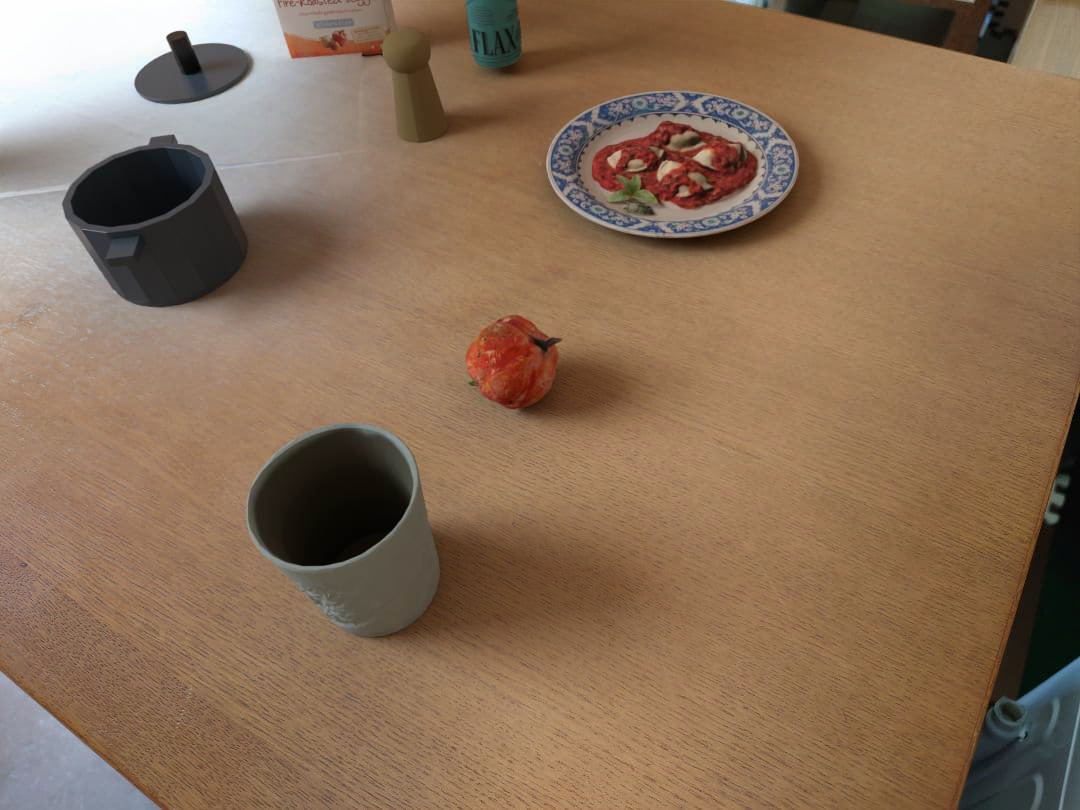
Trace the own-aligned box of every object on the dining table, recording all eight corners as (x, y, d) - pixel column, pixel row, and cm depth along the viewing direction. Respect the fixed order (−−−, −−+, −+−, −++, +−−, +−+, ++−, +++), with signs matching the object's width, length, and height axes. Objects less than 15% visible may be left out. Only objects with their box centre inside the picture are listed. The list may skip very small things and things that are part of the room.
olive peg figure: (411, 110, 94) (391, 18, 85) (456, 117, 92) (441, 24, 83) (387, 137, 90) (364, 44, 82) (434, 145, 89) (415, 51, 80)
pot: (89, 335, 73) (34, 261, 66) (134, 211, 85) (91, 137, 78) (234, 316, 73) (195, 240, 66) (258, 195, 85) (227, 120, 78)
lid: (126, 114, 98) (104, 71, 93) (150, 58, 107) (131, 16, 103) (243, 100, 98) (225, 56, 94) (256, 45, 107) (241, 2, 103)
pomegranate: (477, 440, 64) (566, 412, 58) (419, 377, 62) (506, 340, 55) (512, 382, 69) (597, 350, 63) (460, 321, 66) (544, 281, 60)
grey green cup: (458, 519, 57) (428, 420, 48) (442, 654, 51) (404, 569, 42) (324, 520, 58) (269, 422, 49) (291, 652, 52) (222, 569, 42)
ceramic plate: (676, 83, 93) (678, 59, 91) (849, 179, 79) (856, 153, 77) (500, 169, 85) (497, 144, 82) (659, 292, 71) (661, 267, 69)
